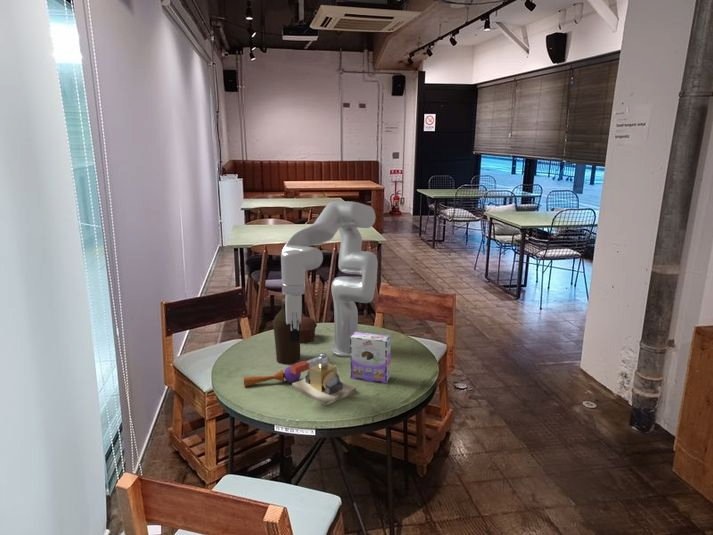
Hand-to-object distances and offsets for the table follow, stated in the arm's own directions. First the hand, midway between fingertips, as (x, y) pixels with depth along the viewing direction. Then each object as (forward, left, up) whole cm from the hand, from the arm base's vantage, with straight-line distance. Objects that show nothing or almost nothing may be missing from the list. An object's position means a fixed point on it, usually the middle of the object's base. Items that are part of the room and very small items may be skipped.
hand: (295, 340), depth 165 cm
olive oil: (-14, -24, -19) cm, 34 cm away
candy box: (-26, +10, -19) cm, 34 cm away
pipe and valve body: (-8, +5, -17) cm, 20 cm away
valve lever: (-2, +5, -10) cm, 11 cm away
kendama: (+2, -12, -20) cm, 23 cm away
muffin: (-31, -36, -19) cm, 51 cm away
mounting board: (-8, +5, -19) cm, 21 cm away
